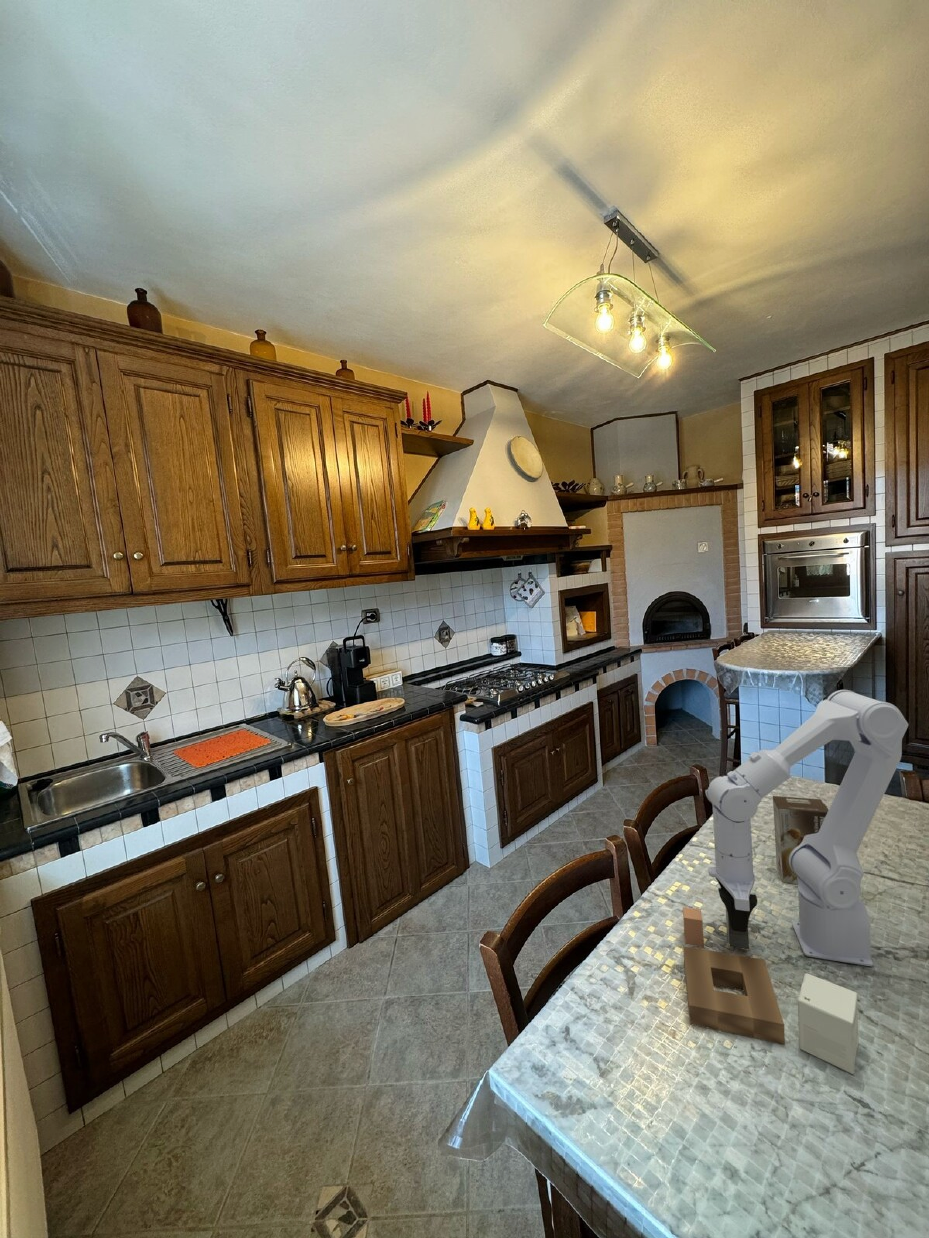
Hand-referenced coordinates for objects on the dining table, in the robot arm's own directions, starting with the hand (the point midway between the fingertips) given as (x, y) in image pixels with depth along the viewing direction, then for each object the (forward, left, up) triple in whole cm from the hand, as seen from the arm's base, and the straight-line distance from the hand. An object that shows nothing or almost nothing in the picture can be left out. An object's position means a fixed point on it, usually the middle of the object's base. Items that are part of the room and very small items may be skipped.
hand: (736, 922), depth 85 cm
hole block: (+3, +12, -4) cm, 13 cm away
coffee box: (-16, -24, -5) cm, 29 cm away
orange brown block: (+7, 0, -4) cm, 8 cm away
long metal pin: (0, 0, -4) cm, 3 cm away
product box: (-8, +17, -5) cm, 19 cm away
